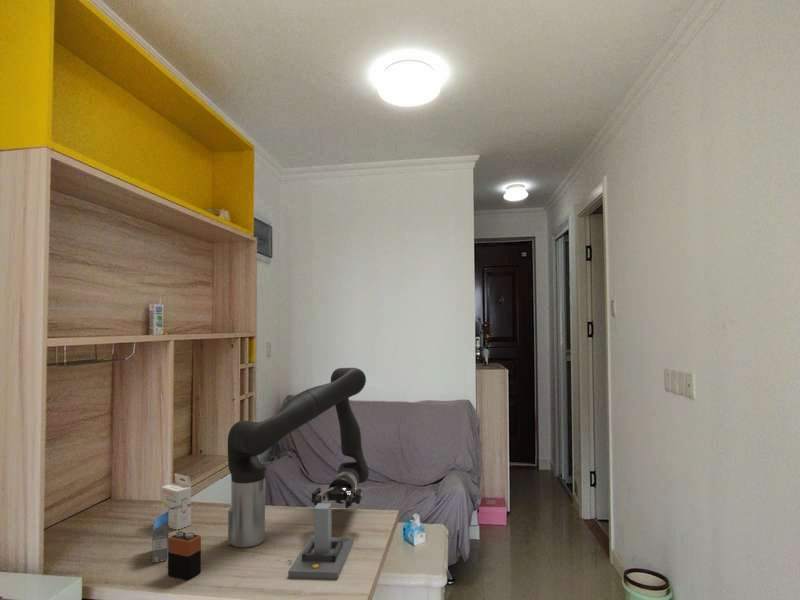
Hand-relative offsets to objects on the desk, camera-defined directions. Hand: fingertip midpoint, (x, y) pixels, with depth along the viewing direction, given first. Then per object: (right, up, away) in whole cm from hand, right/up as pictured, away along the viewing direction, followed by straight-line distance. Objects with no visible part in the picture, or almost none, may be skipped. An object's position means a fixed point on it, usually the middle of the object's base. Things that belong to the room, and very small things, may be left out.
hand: (331, 504), depth 141 cm
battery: (-33, -10, -19) cm, 40 cm away
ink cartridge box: (-50, -12, +13) cm, 53 cm away
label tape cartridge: (-45, -11, -8) cm, 46 cm away
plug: (-1, -8, -11) cm, 14 cm away
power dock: (-1, -10, -11) cm, 15 cm away
